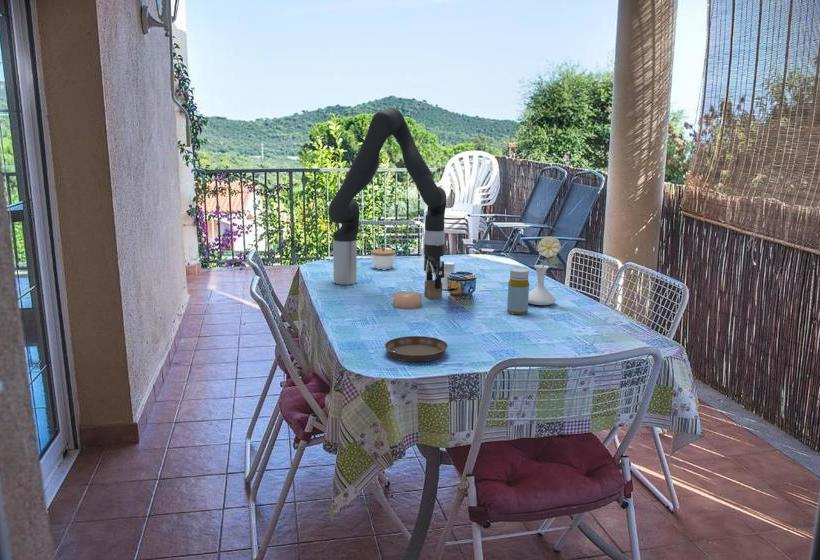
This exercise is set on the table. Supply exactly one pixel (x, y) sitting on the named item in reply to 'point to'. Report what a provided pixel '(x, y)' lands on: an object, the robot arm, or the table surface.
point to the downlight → (447, 273)
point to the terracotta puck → (407, 300)
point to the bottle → (518, 291)
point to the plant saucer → (416, 348)
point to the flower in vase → (540, 293)
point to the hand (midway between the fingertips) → (433, 286)
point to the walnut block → (432, 290)
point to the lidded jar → (383, 258)
